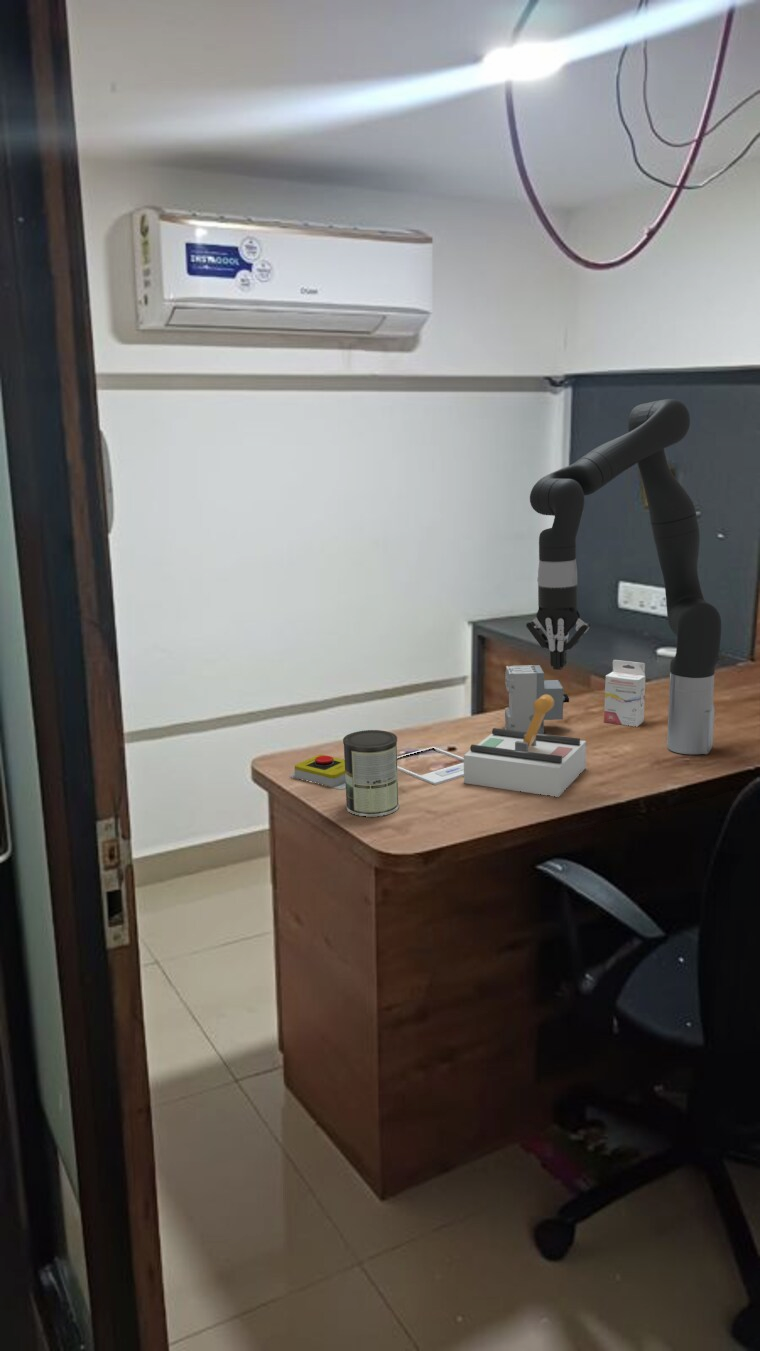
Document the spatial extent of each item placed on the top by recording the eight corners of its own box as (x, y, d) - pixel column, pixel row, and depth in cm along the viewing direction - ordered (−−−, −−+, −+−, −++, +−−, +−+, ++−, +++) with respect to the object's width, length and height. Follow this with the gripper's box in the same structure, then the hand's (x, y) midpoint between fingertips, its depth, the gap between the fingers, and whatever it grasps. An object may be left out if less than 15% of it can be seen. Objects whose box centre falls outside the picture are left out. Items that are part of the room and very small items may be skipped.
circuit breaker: (569, 734, 232) (570, 672, 228) (508, 736, 233) (508, 673, 229) (564, 725, 239) (565, 664, 236) (505, 726, 240) (505, 666, 236)
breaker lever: (537, 744, 206) (556, 698, 201) (531, 750, 203) (550, 703, 198) (523, 737, 207) (542, 691, 202) (517, 742, 204) (536, 696, 199)
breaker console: (585, 768, 210) (586, 732, 208) (558, 797, 194) (558, 758, 192) (496, 756, 219) (496, 721, 217) (463, 783, 204) (463, 745, 202)
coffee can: (334, 808, 192) (331, 739, 189) (372, 793, 200) (369, 726, 196) (373, 822, 185) (370, 750, 182) (410, 806, 193) (408, 736, 189)
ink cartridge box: (603, 722, 240) (604, 663, 237) (610, 717, 244) (611, 658, 241) (637, 727, 236) (639, 667, 232) (644, 721, 240) (646, 662, 236)
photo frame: (434, 782, 203) (381, 760, 217) (434, 787, 203) (381, 765, 217) (487, 765, 211) (433, 745, 225) (487, 770, 212) (433, 750, 226)
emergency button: (315, 747, 217) (369, 759, 208) (316, 766, 218) (370, 779, 209) (286, 759, 210) (341, 772, 201) (287, 778, 211) (342, 792, 202)
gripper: (596, 580, 194) (596, 666, 198) (532, 578, 200) (533, 662, 204) (584, 587, 187) (584, 676, 192) (518, 584, 194) (520, 671, 198)
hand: (558, 668), depth 198 cm, fingers closed
